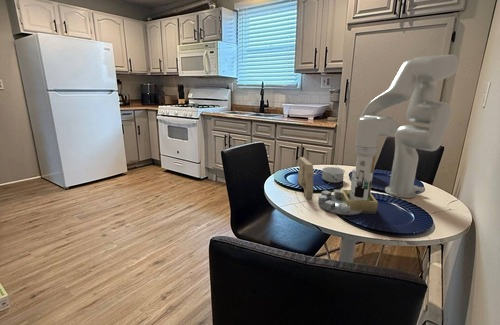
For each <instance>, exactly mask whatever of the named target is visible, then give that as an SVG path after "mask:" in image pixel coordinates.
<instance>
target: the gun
mask: <svg viewBox="0 0 500 325" xmlns="http://www.w3.org/2000/svg"><path fill="white" fill-rule="evenodd" d="M298 168H299V169H298V170H297V171H298V173H297V182H298V185H299V186H300V187H301V188H302V189H303V190H304V191H303V194H304V197H305V200H313V195H314V174H315V172H314V164H313V163H311V162H310V161H309V160H308V159H306V158H305V157H304V156H301V157H300V156H299V158H298Z"/></svg>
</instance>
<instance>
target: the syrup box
mask: <svg viewBox="0 0 500 325" xmlns="http://www.w3.org/2000/svg"><path fill="white" fill-rule="evenodd" d="M351 172H352V174H351V182H350V189H349V190H350V200H366V201H369V200H370V193H372V192H371V190H372V182H373V176H374V172H373V173H372V172H371V173H370V179H369V181H368V182H367V181H365V183H364V195H363V198H360V197H355V196H354V194H355V186H356V183H357V180H356V179H355V174H356V168H352V170H351ZM363 174H364V173H363ZM358 179H359V176H358ZM362 180H364V179H362ZM362 183H363V182H362Z"/></svg>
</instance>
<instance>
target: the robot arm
mask: <svg viewBox="0 0 500 325" xmlns="http://www.w3.org/2000/svg"><path fill="white" fill-rule="evenodd" d="M459 64H460V63H459V59H458V57H457V56H456V55H455V54H441V55H438V54H437V55H428V56H427V55H426V56H425V55H424V56H419V57H415V58H413V59H408V60H406V61H404V62H403V63H402V64H401V65H400V68H399V69H398V71H397V72H396V75H395V76H394V78H393V80H392V81H391V83H390V85H389V87H388V88H387V90H385V91H383V92H382V93H381V94H379V95H378V96H376V97H375V98H374V99H372V100H371V101H370V102H369V103H368V104H367V105H366V106H365V107H364V109H363V111H362V113H361V114H360V116H359V119H358V121H357V126H356V127H357V128H356V136H355V144H354V145H355V146H354V154H355V155H357V157H356V164H355V169H356V174H355V179H356V180H357V183H356V186H355V194H354V196H355V197H360V198H363V195H364V183H365V181H367V182H368V181H369V179H370V173H371V168H372V159H373V156H375V155H376V156H377V151H378V150H377V148H378V140H379V137H390V136H393V135H394V144H395V145H394V146H395V147H394V156H393V161H392V166H391V173H390V180H389V185H388V186H386V187H385V188H384V192H386V194H388V195H390V196H392V197H394V198H395V197H397V198H401V199H413V198H415V197H416V195H417V194H416V192H424V191H425V188H424V187H423V186H418V185H415V184H414V183H415V179H416V174H417V168H418V164H419V153H418V152H417V150H422V151H426V152H427V151H428V152H435V151H437V150H438V149H439V148H440V147H441V145H442V142H443V139H444V137H445V133H446V131H447V128H448V125H449V122H450V119H451V115H452V109H451V108H452V107H451V105H450V104H449V103H448V102H444V101H436V100H435V99H436V98H435V97H436V95H437V90H438V89H437V86H436V84H435V83H434V82H439V81H442V80H445V79H449V78H450V77H452V76H453V75H455V73H457V70H458V68H459ZM409 99H410V100H409ZM408 100H409V104H408V106H407V110H406V112H405V113H406V114H405V117H406V120H407V121H408V122H411V123H414V124H423V125H430V127H427V126H421V125H413V124H405V125H401V126H399V122H398V120H397V119H396V118H394V117H393V116H389V115H381V114H379V113H380V112H382V111H384V110H385V109H388V108H390V107H394V106H397V105H400V104H403V103H405V102H407V101H408ZM363 173H364V174H363ZM358 176H359V179H358ZM362 179H364V180H362ZM362 182H363V183H362Z"/></svg>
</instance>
